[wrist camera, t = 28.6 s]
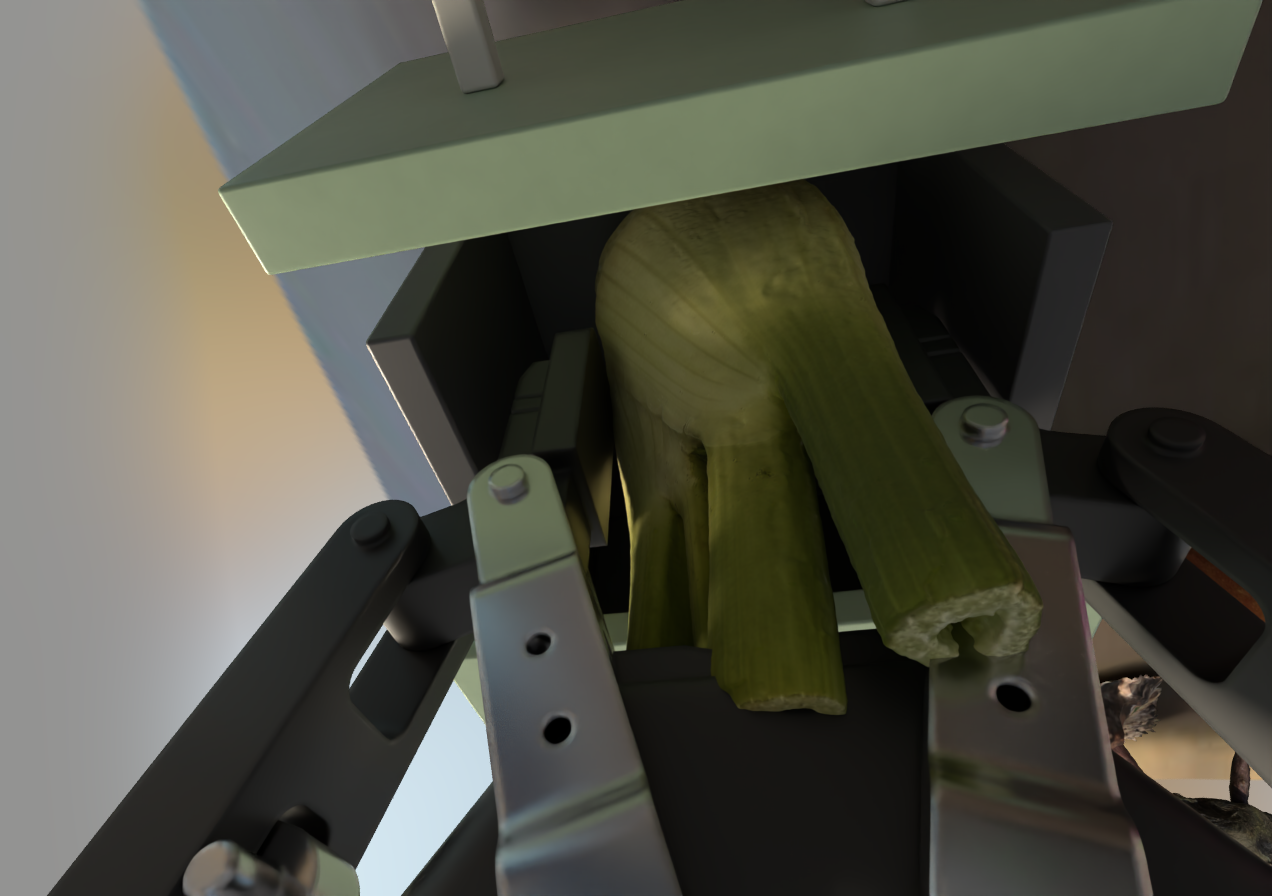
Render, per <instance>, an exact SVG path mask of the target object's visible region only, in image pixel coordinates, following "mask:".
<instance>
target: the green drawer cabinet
mask: <svg viewBox="0 0 1272 896" xmlns="http://www.w3.org/2000/svg"><path fill="white" fill-rule="evenodd" d="M833 596H834V602H835V609H836V618H837V623H838V631H839V632H842V631H854V630H865V629H876V627H875V624H874V623H873V621H872V617H871V612H870V609H869V606H868V603H867V601H866V599H865V595H864V591H863V589H860V590H849V591H839V592H833ZM1085 603H1086V608H1087V614H1088V620H1089V625H1090V631H1091V637H1092V638H1093V636H1094V634H1095V632H1096V630H1097V628H1098V626H1099V624H1100V622H1101V620H1102V617H1101V616H1100V615H1099V614H1098V613H1097V612H1096V611H1095V610H1094V609H1093V608H1092V607H1091V606H1090V605H1089V604H1088V603H1087V602H1086V601H1085ZM603 615H604V618H605V621H606V624H607V627H608V630H609V633H610V637H611V640H612V643H613V646H614V649H615V651H623V650H626V645H627V635H628V618H629V612H622V613H612V614H603ZM454 681H455V683H456V684H457V686H458V687H459V688H460V690H461V691H462V692H463V694H464V695H465V697H466V698H467V700H468V701H469V703H470V704H471V705H472V707H473V708H474V709H475V711H476V712H477V714H478V715H479V716H480V718H481V719H482V721H483V722H484V724H485V725H486V723H485V715H484V708H483V700H482V692H481V684H480V676H479V669H478V661H477V653H476V645H475V640H474V641H473V643H472V645H471V647H470V649H469V651H468V653H467V655H466V657H465V659H464V661H463V663H462V665H461V667H460V669H459V671H458V672H457V674H456V676H455V678H454Z"/></svg>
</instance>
